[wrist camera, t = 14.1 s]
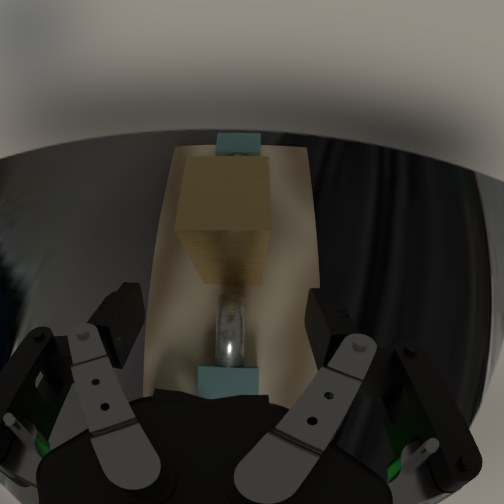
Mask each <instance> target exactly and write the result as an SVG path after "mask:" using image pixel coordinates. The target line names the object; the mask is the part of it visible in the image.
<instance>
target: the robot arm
mask: <svg viewBox="0 0 504 504" xmlns="http://www.w3.org/2000/svg"><path fill="white" fill-rule="evenodd" d="M144 320H145V309H144V304H143V298H142V292H141V287H140V284H139V283H128V282H124V283H123V284H122V285H121V287H120V288H119V289H118V291H117V292H113V293H111V294H110V295H108V296H107V297H106V298H105V299H104V300H103V302H102V304H100V306H99V307H98V309H97V310H96V311H95V312H94V314H93V315H92V316H91V318H90V319H89V321H88V322H87V323H84V324H79V325H77V326H75V327H73V328H72V329H71V330H70V331H69V333H68V336H55V337H54V336H53V333H52V331H51V329H50V328H48V327H38V328H35V329H33V330H32V331H30V332H29V333H28V334H27V336H26V337H25V338H24V340H23V341H22V342H21V344H20V345H19V347H18V348H17V349H16V351H15V352H14V353H13V355H12V356H11V358H10V359H9V361H8V362H7V363H6V365H5V366H4V368H3V369H2V371H1V372H0V472H2V473H3V474H4V475H5V476H7V477H8V478H9V479H11V480H12V481H13V482H15V483H16V484H17V485H19V486H21V487H29V486H32V487H34V488H36V489H37V490H38V496H39V504H437V503H439V502H441V501H443V500H445V499H446V498H448V497H449V496H451V495H452V494H454V493H455V492H456V491H458V490H460V489H461V488H462V486H464V485H465V484H467V483H468V482H469V481H471V480H472V479H473V478H475V477H476V476H477V475H478V474H479V472H480V470H481V468H482V457H481V454H480V452H479V449H478V447H477V445H476V443H475V441H474V438H473V436H472V434H471V432H470V430H469V428H468V426H467V424H466V422H465V420H464V418H463V416H462V414H461V412H460V410H459V409H458V407H457V405H456V403H455V401H454V399H453V397H452V396H451V394H450V392H449V390H448V388H447V387H446V385H445V383H444V381H443V380H442V378H441V376H440V375H439V373H438V371H437V370H436V368H435V366H434V365H433V363H432V361H431V360H430V358H429V356H428V355H427V353H426V352H425V350H424V348H423V347H422V346H421V345H420V344H418V343H417V342H414V341H411V340H401V341H399V342H398V343H397V344H396V346H395V348H394V349H386V348H379V347H377V345H376V343H375V342H374V340H373V339H371V338H370V337H368V336H366V335H363V334H360V333H359V331H358V330H357V328H356V326H355V324H354V322H353V320H352V319H351V317H350V315H349V313H348V312H347V309H346V308H345V306H344V304H343V303H342V302H340V301H339V300H338V299H337V298H331V297H330V295H329V293H328V291H327V289H326V288H310V289H309V293H308V299H307V305H306V311H305V318H304V324H305V330H306V333H307V336H308V339H309V343H310V346H311V350H312V353H313V356H314V360H315V363H316V367H317V370H318V373H317V374H316V375H315V377H314V378H313V380H312V381H311V382H310V384H309V385H308V386H307V388H306V389H305V390H304V392H303V393H302V394H301V396H300V397H299V398H298V400H297V401H296V402H295V404H294V405H293V406H292V407H291V409H288V408H286V407H283V406H281V405H277V404H274V403H269V395H236V396H230V397H223V398H217V399H206V398H202V397H199V396H195V395H192V394H189V393H185V392H182V391H173V390H165V389H157V388H155V389H154V393H153V396H149V397H143V398H139V399H136V400H133V401H131V402H129V403H128V401H127V399H126V397H125V395H124V393H123V391H122V388H121V386H120V384H119V382H118V380H117V377H116V375H115V373H114V370H113V368H118V369H123V367H124V364H125V362H126V360H127V358H128V355H129V353H130V351H131V349H132V347H133V345H134V342H135V340H136V338H137V336H138V334H139V332H140V330H141V328H142V325H143V323H144ZM40 371H41V372H42V374H43V378H42V380H41V381H40V383H39V385H38V387H37V389H36V387H35V381H36V378H37V376H38V374H39V372H40ZM72 383H75V386H76V390H77V393H78V397H79V400H80V404H81V407H82V410H83V413H84V416H85V419H86V422H87V425H88V429H86V430H85V431H83V432H81V433H80V434H78V435H77V436H75V437H73V438H72V439H70V440H68V441H67V442H65V443H63V444H61V445H60V446H58V447H56V448H55V449H53V450H51V451H50V444H49V442H48V440H49V437H50V435H51V432H52V430H53V427H54V424H55V422H56V420H57V417H58V415H59V412H60V410H61V408H62V405H63V403H64V401H65V399H66V396H67V394H68V392H69V390H70V388H71V385H72ZM357 395H363V396H372V397H375V399H376V402H377V405H378V408H379V411H380V414H381V417H382V420H383V423H384V426H385V429H386V432H387V435H388V438H389V441H390V445H391V448H392V451H393V454H394V459H393V460H392V461H391V463H390V464H389V467H388V481H387V482H386V481H385V480H384V479H383V478H382V477H381V476H380V475H378V474H377V473H375V472H374V471H372V470H371V469H369V468H368V467H367V466H365V465H364V464H362V463H361V462H359V461H358V460H357V459H355V458H354V457H352V456H351V455H350V454H348V453H347V452H346V451H344V450H343V449H341V448H340V447H339V446H337V445H336V444H335V443H333V442H332V440H333V439H334V437H335V435H336V433H337V432H338V430H339V428H340V426H341V424H342V423H343V421H344V419H345V417H346V415H347V413H348V412H349V410H350V408H351V406H352V404H353V402H354V400H355V398H356V396H357Z"/></svg>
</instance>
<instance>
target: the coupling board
mask: <svg viewBox="0 0 504 504" xmlns="http://www.w3.org/2000/svg"><path fill="white" fill-rule="evenodd" d="M192 156H266V157H269V175H270V228H271V231H270V237H269V243H268V248H267V254H266V260H265V265H264V271H263V276H262V282H261V286H255V285H214V284H204V282H203V280H202V279H201V277H200V275H199V274H198V272H197V270H196V268H195V267H194V265H193V263H192V261H191V259H190V258H189V256H188V254H187V252H186V250H185V249H184V247H183V245H182V243H181V241H180V240H179V238H178V236H177V234H176V232H175V230H174V228H175V221H176V215H177V208H178V202H179V196H180V190H181V185H182V179H183V174H184V168H185V163H186V158H187V157H192ZM310 288H320V280H319V263H318V249H317V236H316V225H315V214H314V204H313V195H312V186H311V177H310V169H309V161H308V154H307V148H305V147H290V146H270V145H261V133H218V136H217V143H216V145H191V146H175V150H174V154H173V158H172V162H171V166H170V171H169V175H168V180H167V184H166V189H165V194H164V199H163V204H162V209H161V215H160V220H159V226H158V232H157V238H156V245H155V251H154V258H153V266H152V273H151V281H150V290H149V299H148V310H147V321H146V335H145V352H144V379H143V397H149V396H153V393H154V389H155V388H157V389H165V390H173V391H182V392H185V393H189V394H192V395H195V396H199V397H202V398H206V399H217V398H223V397H230V396H236V395H269V403H274V404H277V405H281V406H283V407H286V408H288V409H291V407H292V406H293V405H294V404H295V402H296V401H297V400H298V398H299V397H300V396H301V394H302V393H303V392H304V390H305V389H306V388H307V386H308V385H309V384H310V382H311V381H312V380H313V378H314V377H315V375H316V374H317V373H318V370H317V367H316V363H315V360H314V356H313V353H312V350H311V346H310V343H309V339H308V336H307V333H306V330H305V324H304V318H305V311H306V305H307V299H308V293H309V289H310Z"/></svg>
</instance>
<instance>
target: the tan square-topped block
mask: <svg viewBox="0 0 504 504" xmlns="http://www.w3.org/2000/svg"><path fill="white" fill-rule="evenodd" d="M174 230H175V232H176V234H177V236H178V238H179V240H180V241H181V243H182V245H183V247H184V249H185V250H186V252H187V254H188V256H189V258H190V259H191V261H192V263H193V265H194V267H195V268H196V270H197V272H198V274H199V275H200V277H201V279H202V280H203V282H204V284H214V285H255V286H261V282H262V276H263V271H264V265H265V260H266V254H267V248H268V243H269V237H270V231H271V228H270V175H269V157H266V156H192V157H187V158H186V163H185V168H184V174H183V179H182V185H181V190H180V196H179V202H178V208H177V215H176V221H175V228H174Z"/></svg>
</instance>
